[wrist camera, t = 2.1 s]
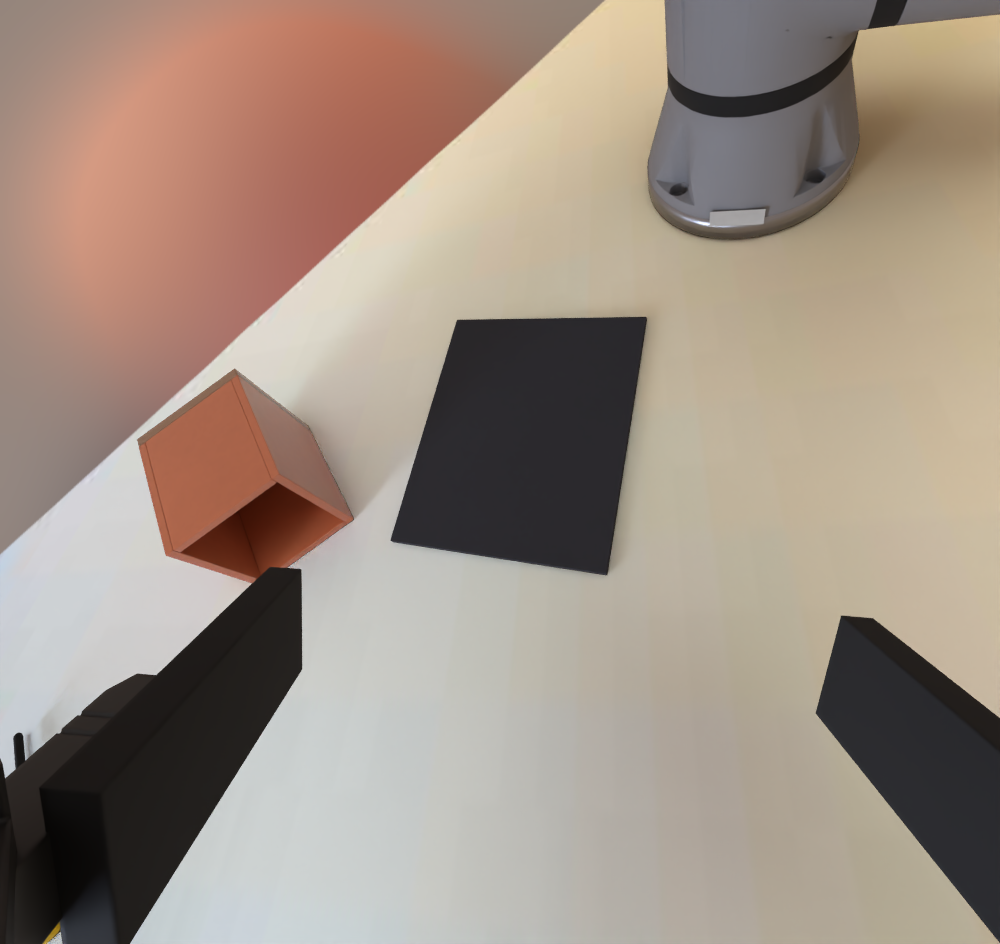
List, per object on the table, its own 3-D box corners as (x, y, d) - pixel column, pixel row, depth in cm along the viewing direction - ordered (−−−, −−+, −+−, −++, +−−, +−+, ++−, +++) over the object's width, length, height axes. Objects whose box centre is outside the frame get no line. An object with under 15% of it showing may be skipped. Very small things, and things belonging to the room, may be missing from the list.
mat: (458, 322, 47) (456, 319, 47) (646, 320, 42) (646, 316, 41) (392, 542, 41) (390, 540, 40) (607, 575, 35) (606, 574, 34)
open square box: (226, 485, 48) (136, 439, 40) (308, 425, 48) (234, 367, 40) (261, 586, 43) (165, 555, 35) (354, 519, 42) (279, 473, 35)
